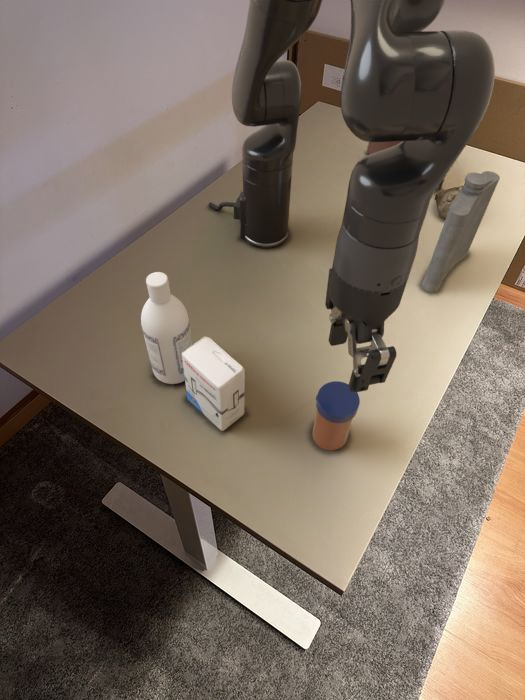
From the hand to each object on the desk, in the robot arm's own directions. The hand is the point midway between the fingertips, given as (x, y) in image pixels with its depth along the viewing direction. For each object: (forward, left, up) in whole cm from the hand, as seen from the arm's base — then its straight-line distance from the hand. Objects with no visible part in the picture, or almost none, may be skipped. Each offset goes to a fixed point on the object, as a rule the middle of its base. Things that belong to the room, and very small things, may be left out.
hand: (347, 364), depth 62 cm
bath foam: (-27, +5, -18) cm, 33 cm away
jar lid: (0, 0, -8) cm, 8 cm away
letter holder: (+3, +76, -18) cm, 78 cm away
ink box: (-18, 0, -18) cm, 25 cm away
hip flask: (+14, +43, -18) cm, 49 cm away
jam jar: (0, 0, -17) cm, 17 cm away
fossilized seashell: (+15, +63, -18) cm, 67 cm away
